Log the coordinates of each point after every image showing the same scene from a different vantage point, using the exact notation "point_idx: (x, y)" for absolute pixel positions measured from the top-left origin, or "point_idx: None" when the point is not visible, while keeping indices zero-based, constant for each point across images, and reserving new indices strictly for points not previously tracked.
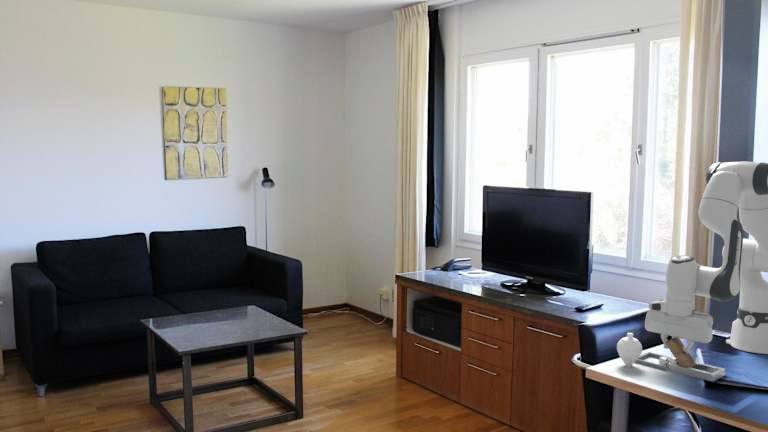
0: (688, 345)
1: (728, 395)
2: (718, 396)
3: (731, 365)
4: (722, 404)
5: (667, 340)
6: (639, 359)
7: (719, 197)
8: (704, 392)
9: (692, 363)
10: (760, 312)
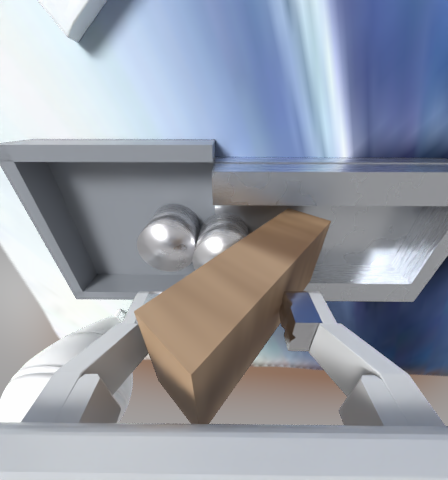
0: (339, 378)
1: (426, 301)
2: (395, 321)
3: None
4: (402, 351)
5: (124, 337)
6: (98, 292)
7: None
8: (357, 320)
9: (316, 256)
10: None
